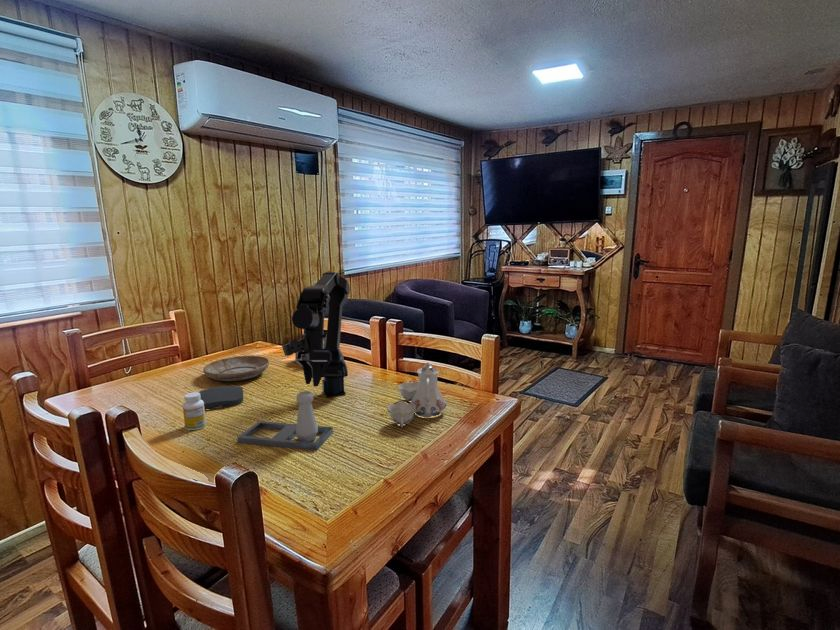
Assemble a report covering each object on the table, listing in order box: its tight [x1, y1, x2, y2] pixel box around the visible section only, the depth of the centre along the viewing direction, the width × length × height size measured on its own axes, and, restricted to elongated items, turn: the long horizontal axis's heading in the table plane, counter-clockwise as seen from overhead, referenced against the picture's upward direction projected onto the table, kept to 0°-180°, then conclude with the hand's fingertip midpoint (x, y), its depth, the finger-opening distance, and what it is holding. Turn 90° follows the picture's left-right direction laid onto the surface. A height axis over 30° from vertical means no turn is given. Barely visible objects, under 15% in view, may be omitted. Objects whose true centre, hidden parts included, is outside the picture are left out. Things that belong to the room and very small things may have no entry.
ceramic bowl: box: [203, 355, 270, 382], centre depth 172 cm, size 23×24×5 cm
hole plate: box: [236, 420, 334, 451], centre depth 121 cm, size 22×10×2 cm, turn 78°
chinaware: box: [386, 361, 447, 428], centre depth 135 cm, size 28×17×17 cm, turn 178°
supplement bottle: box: [182, 391, 207, 431], centre depth 127 cm, size 5×5×10 cm
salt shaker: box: [296, 390, 319, 442], centre depth 119 cm, size 6×6×13 cm
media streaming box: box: [198, 385, 244, 410], centre depth 147 cm, size 15×15×3 cm
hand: (311, 385), depth 129 cm, fingers open, 9 cm apart
